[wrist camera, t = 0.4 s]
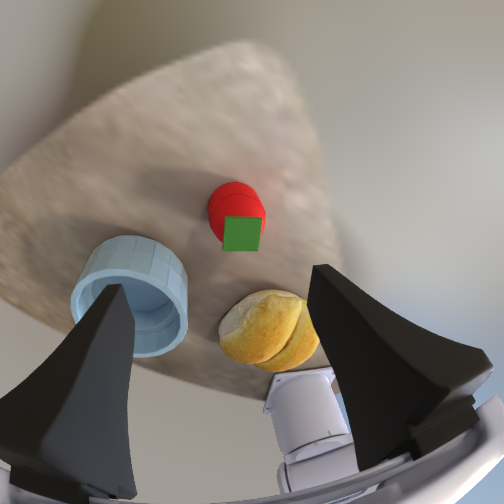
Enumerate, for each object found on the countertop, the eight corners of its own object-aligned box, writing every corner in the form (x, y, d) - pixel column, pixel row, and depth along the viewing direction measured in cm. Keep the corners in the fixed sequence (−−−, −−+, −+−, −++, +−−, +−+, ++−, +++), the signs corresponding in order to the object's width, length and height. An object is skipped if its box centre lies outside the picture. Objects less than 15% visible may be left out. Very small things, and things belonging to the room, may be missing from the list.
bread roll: (274, 361, 29) (283, 392, 26) (203, 331, 25) (206, 367, 22) (334, 312, 26) (350, 343, 23) (266, 269, 22) (279, 304, 19)
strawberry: (256, 229, 20) (268, 261, 17) (206, 228, 20) (209, 261, 16) (262, 183, 19) (277, 207, 15) (209, 180, 18) (212, 205, 15)
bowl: (188, 317, 24) (189, 359, 20) (98, 314, 22) (87, 354, 18) (188, 232, 20) (186, 270, 16) (80, 231, 18) (57, 267, 14)
